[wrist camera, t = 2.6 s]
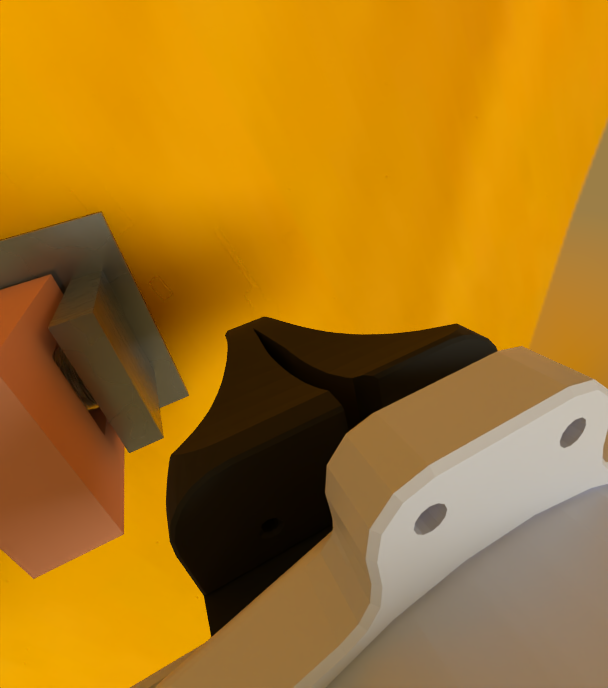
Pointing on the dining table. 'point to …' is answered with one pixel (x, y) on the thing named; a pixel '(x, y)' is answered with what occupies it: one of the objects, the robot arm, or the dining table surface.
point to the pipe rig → (99, 325)
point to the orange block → (50, 444)
